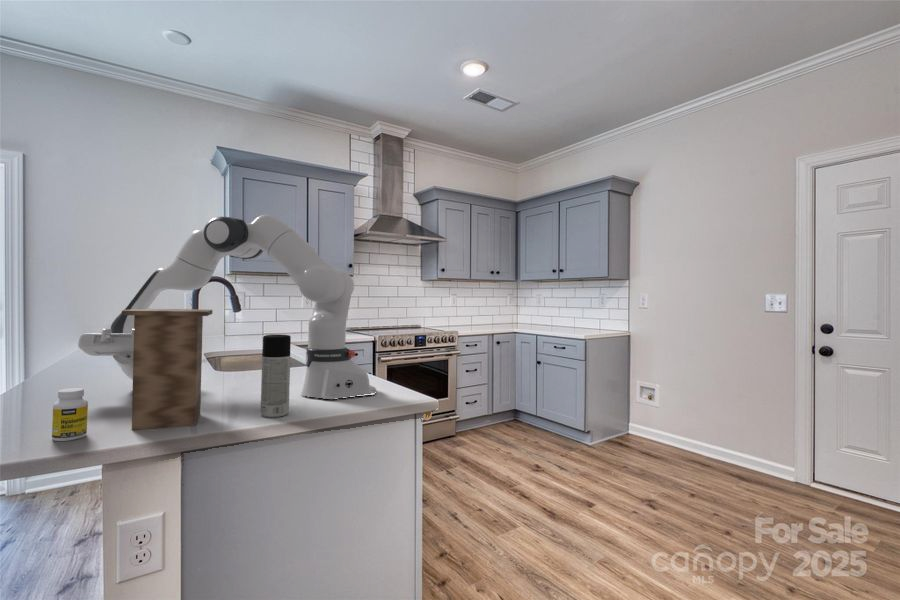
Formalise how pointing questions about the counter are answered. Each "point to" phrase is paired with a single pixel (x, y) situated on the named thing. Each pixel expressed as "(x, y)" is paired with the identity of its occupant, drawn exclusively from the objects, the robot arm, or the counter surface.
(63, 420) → the supplement bottle
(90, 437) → the counter surface
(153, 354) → the pedestal
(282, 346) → the spray can
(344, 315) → the robot arm
